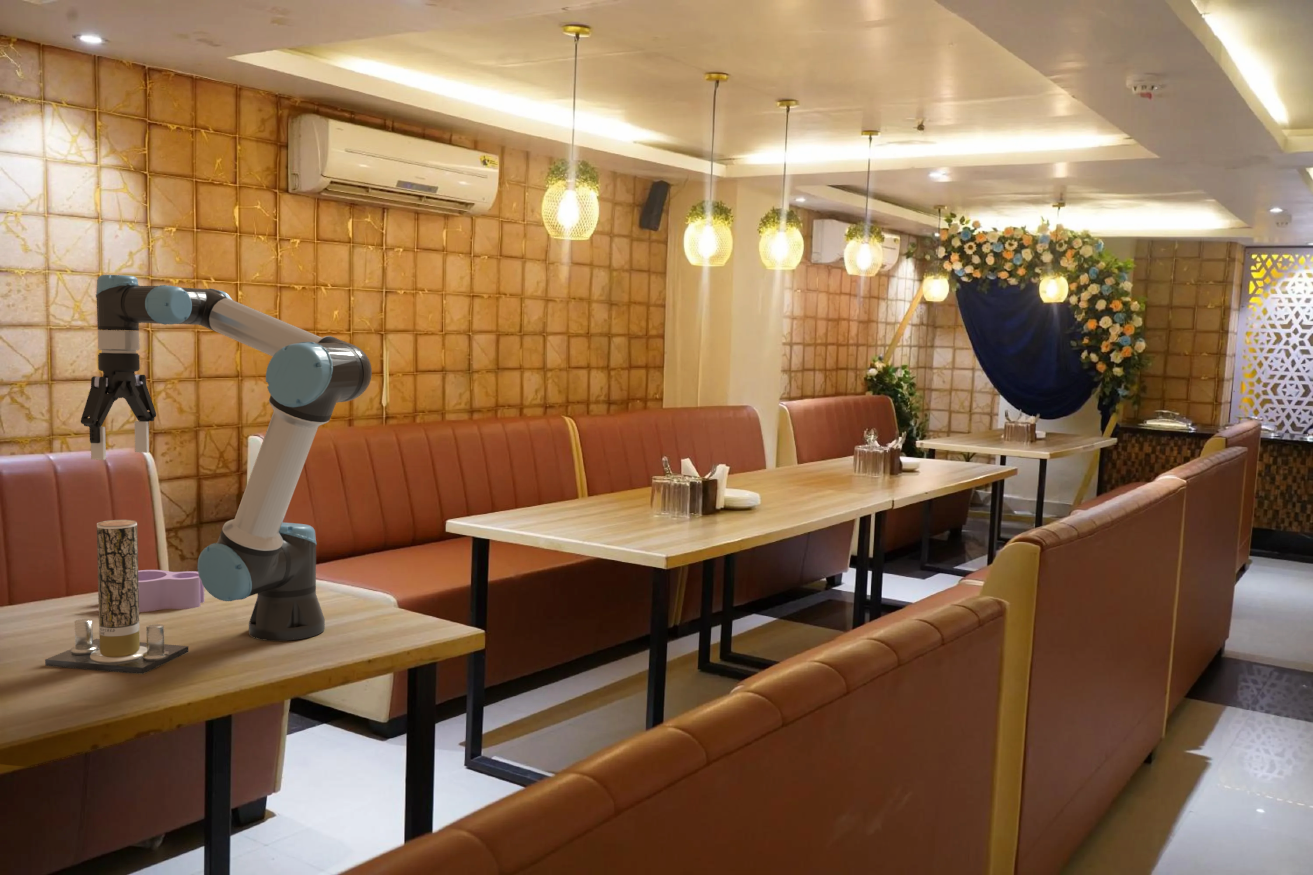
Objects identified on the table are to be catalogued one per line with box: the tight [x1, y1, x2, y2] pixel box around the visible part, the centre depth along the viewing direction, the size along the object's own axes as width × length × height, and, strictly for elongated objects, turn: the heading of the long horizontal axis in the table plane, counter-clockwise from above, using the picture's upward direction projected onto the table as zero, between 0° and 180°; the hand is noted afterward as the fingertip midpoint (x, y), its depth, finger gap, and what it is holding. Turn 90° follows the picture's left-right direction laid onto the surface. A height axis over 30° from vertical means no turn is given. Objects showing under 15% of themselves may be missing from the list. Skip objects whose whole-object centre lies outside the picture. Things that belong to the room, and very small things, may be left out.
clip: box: [138, 569, 205, 613], centre depth 242 cm, size 20×12×7 cm, turn 100°
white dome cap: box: [90, 646, 147, 663], centre depth 202 cm, size 10×10×1 cm
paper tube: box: [96, 519, 141, 657], centre depth 200 cm, size 7×7×25 cm
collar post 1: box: [70, 618, 97, 655], centre depth 203 cm, size 4×4×6 cm
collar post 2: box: [143, 623, 169, 661], centre depth 200 cm, size 4×4×6 cm
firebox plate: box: [44, 638, 189, 675], centre depth 203 cm, size 20×14×1 cm
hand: (121, 455), depth 218 cm, fingers open, 13 cm apart
